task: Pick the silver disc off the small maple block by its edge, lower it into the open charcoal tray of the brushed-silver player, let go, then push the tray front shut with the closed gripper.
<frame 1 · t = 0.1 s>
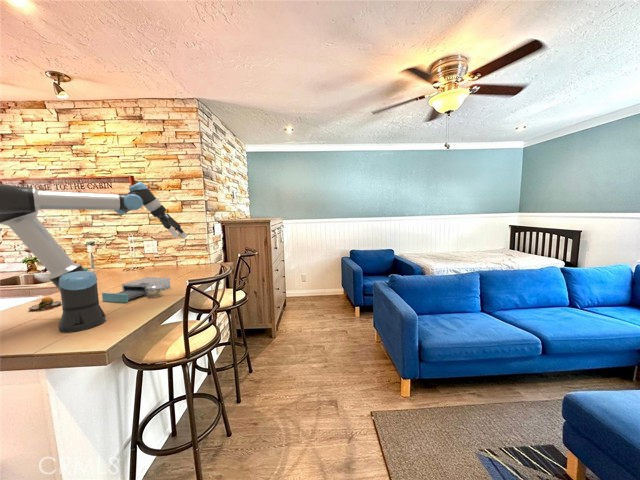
hand: (181, 236, 151), 36 cm above the countertop, tool tilted 35°, fingers open, 13 cm apart
disc: (154, 288, 149), point 5 cm above the countertop, touching block
burger: (46, 308, 133), on the countertop
milk bottle: (85, 302, 140), on the countertop
player: (147, 291, 160), on the countertop
block: (155, 296, 149), on the countertop
tray: (128, 293, 147), point 3 cm above the countertop, slide at 11.0 cm
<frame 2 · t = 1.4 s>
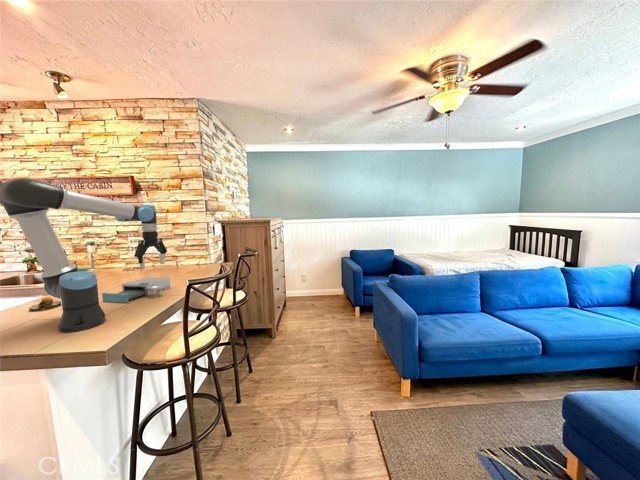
hand: (152, 266, 148), 19 cm above the countertop, tool pointing down, fingers open, 13 cm apart
nothing on the countertop moved.
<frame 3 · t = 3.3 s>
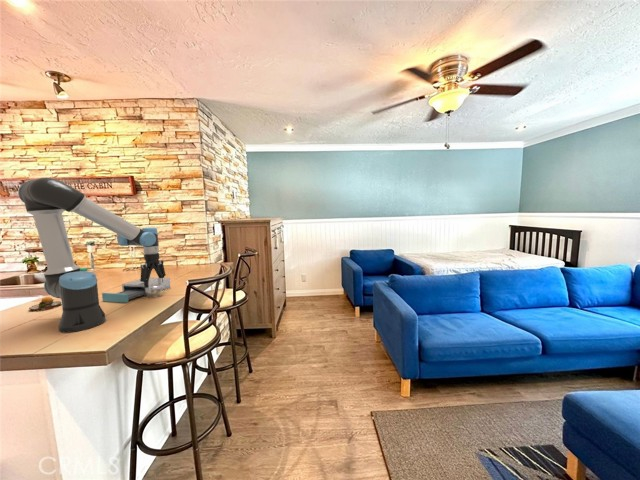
hand: (154, 290, 149), 4 cm above the countertop, tool pointing down, fingers closed on disc, 8 cm apart
disc: (154, 288, 149), point 5 cm above the countertop, touching block, gripper
everything else where it was.
when the fingers open (4 cm above the countertop, at t = 7.5 s): disc drops 2 cm, resting on tray.
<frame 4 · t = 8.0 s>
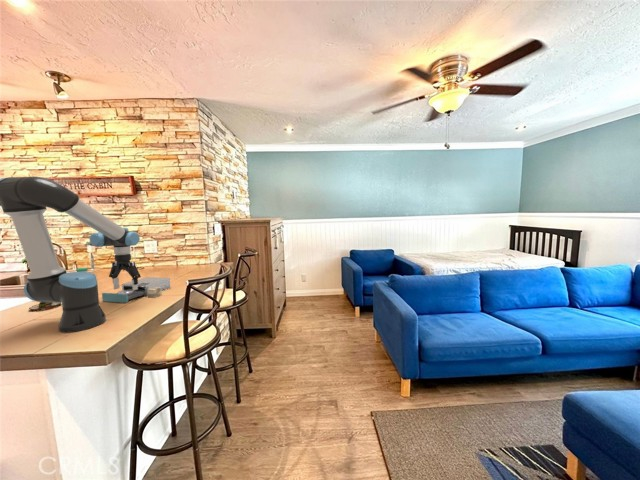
hand: (125, 289, 146), 5 cm above the countertop, tool pointing down, fingers open, 13 cm apart
disc: (126, 293, 146), point 3 cm above the countertop, touching tray
tray: (128, 293, 147), point 3 cm above the countertop, slide at 11.0 cm, touching disc
everything else where it was.
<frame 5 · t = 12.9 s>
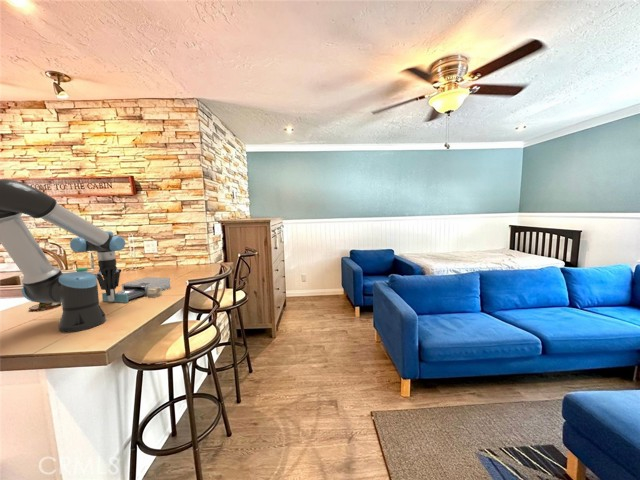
hand: (111, 300, 138), 2 cm above the countertop, tool pointing down, fingers closed
tray: (128, 293, 147), point 3 cm above the countertop, slide at 10.9 cm, touching disc, gripper
everything else where it was.
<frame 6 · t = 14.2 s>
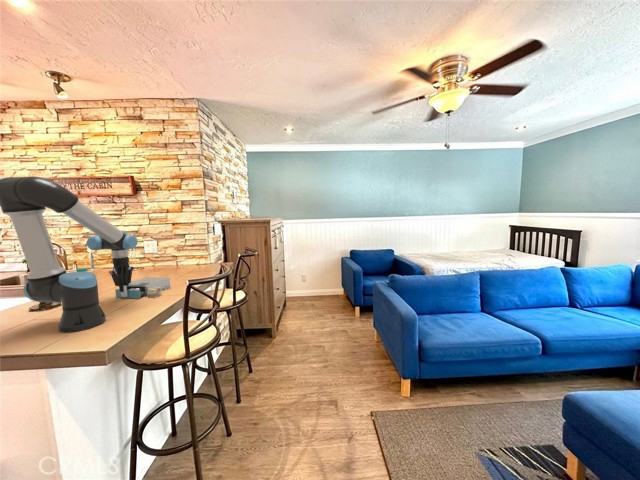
hand: (124, 296, 145), 2 cm above the countertop, tool pointing down, fingers closed
disc: (138, 290, 153), point 3 cm above the countertop, touching tray
tray: (139, 289, 155), point 3 cm above the countertop, slide at 3.5 cm, touching disc, gripper
everything else where it was.
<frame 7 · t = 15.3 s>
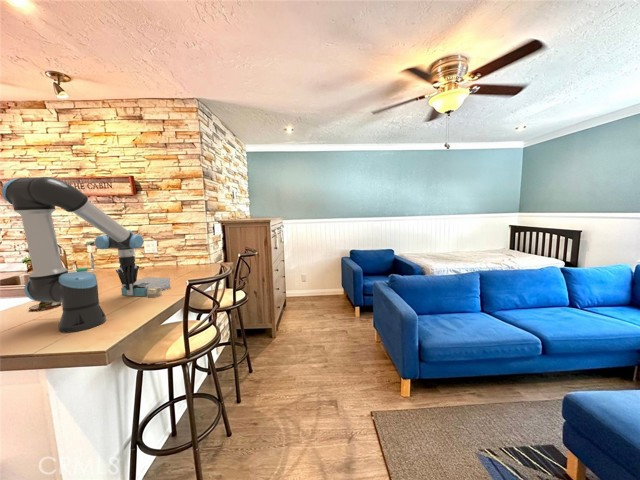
hand: (130, 294, 148), 2 cm above the countertop, tool pointing down, fingers closed
disc: (143, 288, 157), point 3 cm above the countertop, touching tray
tray: (145, 288, 158), point 3 cm above the countertop, slide at -0.1 cm, touching disc, gripper
everything else where it was.
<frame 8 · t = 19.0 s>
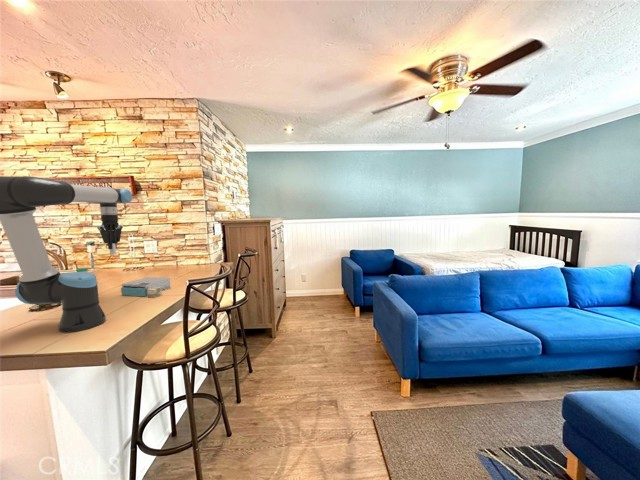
hand: (113, 254, 145), 26 cm above the countertop, tool pointing down, fingers closed
tray: (144, 288, 158), point 3 cm above the countertop, slide at 0.0 cm, touching disc
everything else where it was.
at the end: tray slide at 0.0 cm; disc inside the target area on the player (2.0 cm from its centre), point 3.0 cm above the player's base; the gripper is holding nothing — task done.
